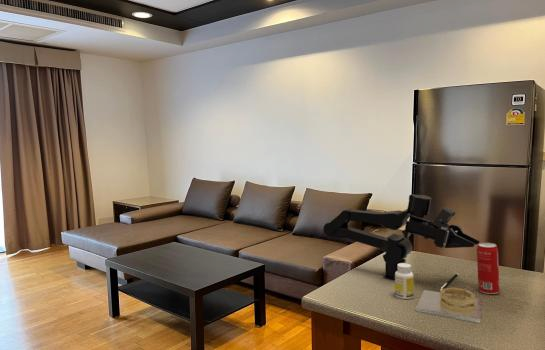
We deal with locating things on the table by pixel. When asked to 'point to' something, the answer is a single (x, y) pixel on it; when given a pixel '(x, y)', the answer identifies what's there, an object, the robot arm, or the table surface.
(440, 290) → the pen
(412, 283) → the supplement bottle
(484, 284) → the beverage can
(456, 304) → the plate
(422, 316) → the table surface
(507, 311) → the table surface
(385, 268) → the robot arm
